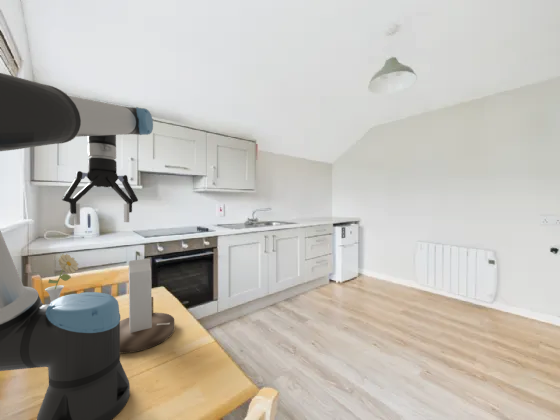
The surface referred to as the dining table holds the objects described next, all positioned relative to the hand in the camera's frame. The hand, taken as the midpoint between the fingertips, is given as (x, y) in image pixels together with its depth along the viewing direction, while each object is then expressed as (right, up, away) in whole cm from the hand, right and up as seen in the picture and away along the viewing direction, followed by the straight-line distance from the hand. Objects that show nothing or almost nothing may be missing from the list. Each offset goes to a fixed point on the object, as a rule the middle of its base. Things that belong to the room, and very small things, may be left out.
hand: (103, 223), depth 80 cm
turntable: (+13, -37, -1) cm, 39 cm away
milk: (+13, -34, -1) cm, 36 cm away
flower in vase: (-20, -37, +6) cm, 42 cm away
